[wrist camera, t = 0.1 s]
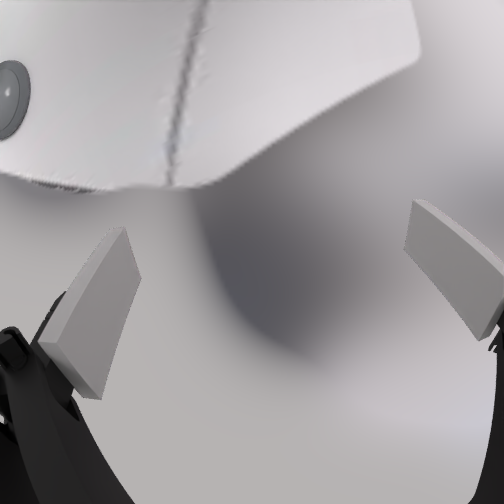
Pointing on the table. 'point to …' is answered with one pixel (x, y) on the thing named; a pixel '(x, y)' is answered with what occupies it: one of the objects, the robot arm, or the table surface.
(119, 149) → the table surface
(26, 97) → the slate plate
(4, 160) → the table surface
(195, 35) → the table surface
